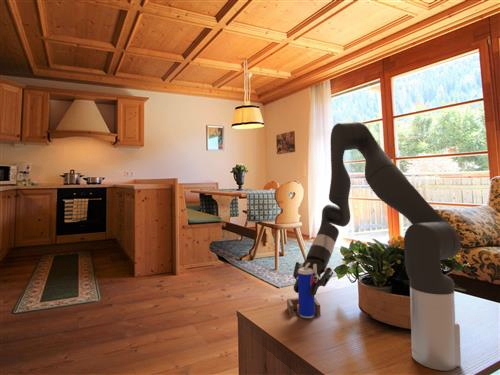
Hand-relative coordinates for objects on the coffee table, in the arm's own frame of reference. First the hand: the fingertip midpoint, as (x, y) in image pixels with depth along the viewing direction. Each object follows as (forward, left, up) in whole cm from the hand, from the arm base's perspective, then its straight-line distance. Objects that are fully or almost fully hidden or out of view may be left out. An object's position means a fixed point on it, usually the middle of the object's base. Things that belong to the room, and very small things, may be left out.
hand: (303, 293), depth 97 cm
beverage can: (-1, -1, -8) cm, 8 cm away
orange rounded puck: (-1, -6, -9) cm, 11 cm away
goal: (-1, -6, -9) cm, 11 cm away
